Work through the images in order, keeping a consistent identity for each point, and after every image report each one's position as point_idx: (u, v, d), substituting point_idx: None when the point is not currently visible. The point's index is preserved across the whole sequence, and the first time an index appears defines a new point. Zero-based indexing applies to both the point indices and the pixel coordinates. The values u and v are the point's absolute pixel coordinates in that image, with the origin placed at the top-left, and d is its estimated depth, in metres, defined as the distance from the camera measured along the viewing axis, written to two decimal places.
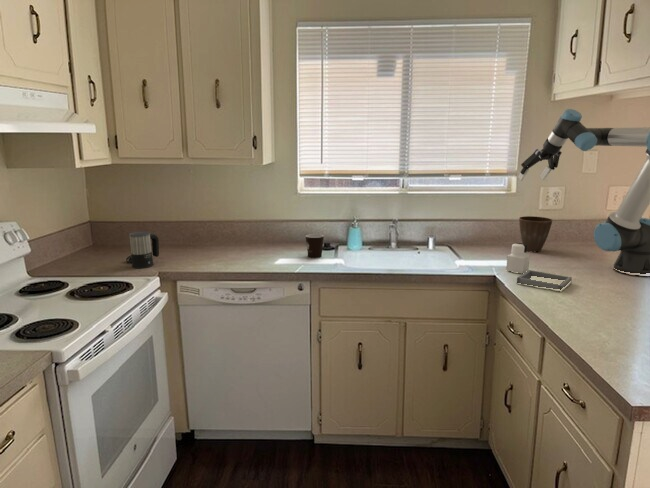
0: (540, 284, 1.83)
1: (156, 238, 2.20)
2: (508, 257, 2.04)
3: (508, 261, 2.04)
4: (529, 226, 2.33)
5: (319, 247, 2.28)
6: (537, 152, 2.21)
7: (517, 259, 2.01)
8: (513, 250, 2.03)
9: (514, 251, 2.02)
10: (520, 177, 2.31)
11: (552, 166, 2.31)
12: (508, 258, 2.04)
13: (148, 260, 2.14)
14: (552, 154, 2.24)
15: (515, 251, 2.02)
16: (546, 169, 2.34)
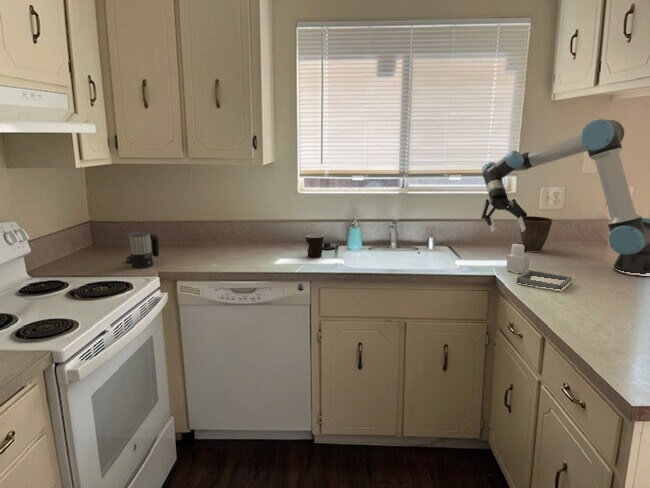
0: (540, 284, 1.83)
1: (156, 238, 2.20)
2: (508, 257, 2.04)
3: (508, 261, 2.04)
4: (529, 226, 2.33)
5: (319, 247, 2.28)
6: (485, 201, 2.20)
7: (517, 259, 2.01)
8: (513, 250, 2.03)
9: (514, 251, 2.02)
10: (492, 228, 2.13)
11: (520, 213, 2.17)
12: (508, 258, 2.04)
13: (148, 260, 2.14)
14: None
15: (515, 251, 2.02)
16: (519, 221, 2.16)
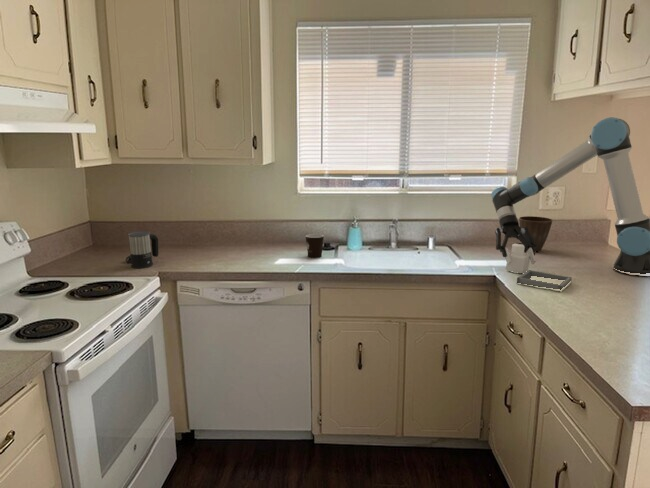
0: (540, 284, 1.83)
1: (155, 238, 2.20)
2: None
3: None
4: (529, 226, 2.33)
5: (319, 247, 2.28)
6: (496, 230, 2.09)
7: (517, 259, 2.01)
8: (513, 250, 2.03)
9: (514, 251, 2.02)
10: (508, 261, 2.02)
11: (529, 244, 2.06)
12: None
13: (148, 260, 2.14)
14: None
15: (515, 251, 2.02)
16: (529, 252, 2.05)
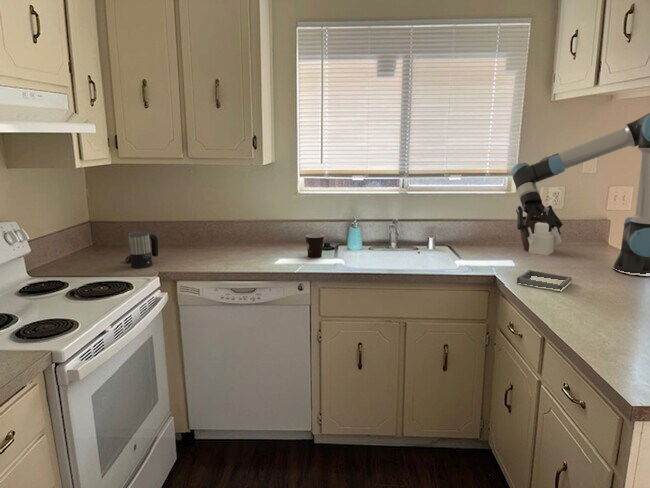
0: (540, 284, 1.83)
1: (155, 238, 2.20)
2: None
3: None
4: (529, 226, 2.33)
5: (319, 247, 2.28)
6: (517, 208, 1.93)
7: (541, 239, 1.84)
8: (536, 229, 1.86)
9: (538, 230, 1.85)
10: (530, 241, 1.85)
11: (554, 223, 1.89)
12: None
13: (147, 260, 2.14)
14: None
15: (539, 230, 1.85)
16: (553, 232, 1.88)
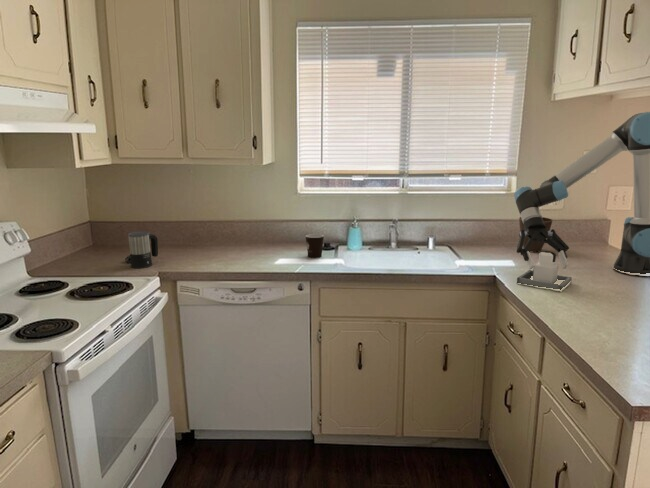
0: (540, 284, 1.83)
1: (155, 238, 2.20)
2: (535, 267, 1.86)
3: (535, 271, 1.87)
4: None
5: (319, 247, 2.28)
6: (520, 232, 1.92)
7: (545, 269, 1.84)
8: (540, 259, 1.86)
9: (542, 260, 1.85)
10: (530, 265, 1.85)
11: (560, 246, 1.89)
12: (535, 268, 1.87)
13: (147, 260, 2.14)
14: None
15: (543, 260, 1.85)
16: (560, 255, 1.88)
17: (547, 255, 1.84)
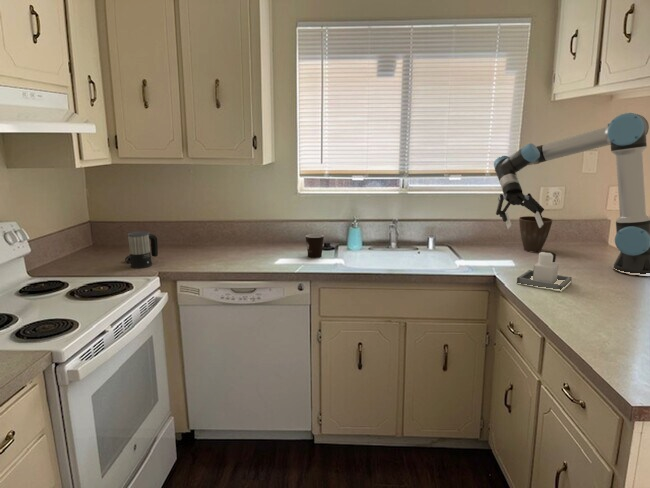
0: (540, 284, 1.83)
1: (155, 238, 2.20)
2: (535, 267, 1.86)
3: (535, 271, 1.87)
4: (529, 226, 2.33)
5: (319, 247, 2.28)
6: (499, 196, 2.09)
7: (545, 269, 1.84)
8: (540, 259, 1.86)
9: (542, 260, 1.85)
10: (508, 225, 2.01)
11: (536, 208, 2.05)
12: (535, 268, 1.87)
13: (147, 260, 2.14)
14: None
15: (543, 260, 1.85)
16: (536, 216, 2.05)
17: (547, 255, 1.84)
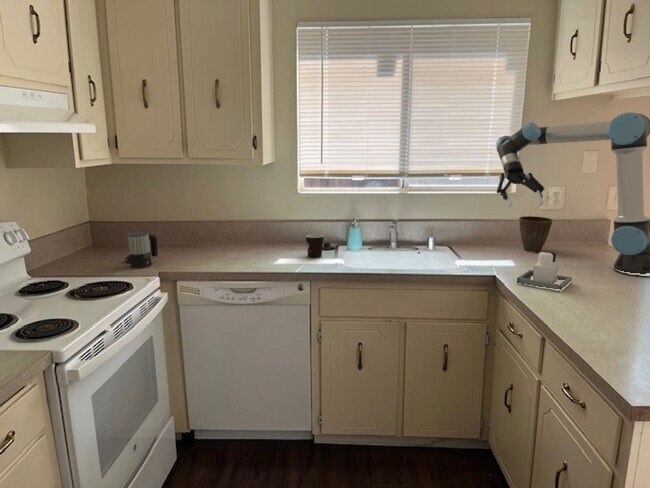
0: (540, 284, 1.83)
1: (155, 238, 2.20)
2: (535, 267, 1.86)
3: (535, 271, 1.87)
4: (529, 226, 2.33)
5: (319, 247, 2.28)
6: (500, 175, 2.10)
7: (545, 269, 1.84)
8: (540, 259, 1.86)
9: (542, 260, 1.85)
10: (508, 203, 2.03)
11: (537, 187, 2.07)
12: (535, 268, 1.87)
13: (147, 260, 2.14)
14: None
15: (543, 260, 1.85)
16: (536, 195, 2.07)
17: (547, 255, 1.84)
